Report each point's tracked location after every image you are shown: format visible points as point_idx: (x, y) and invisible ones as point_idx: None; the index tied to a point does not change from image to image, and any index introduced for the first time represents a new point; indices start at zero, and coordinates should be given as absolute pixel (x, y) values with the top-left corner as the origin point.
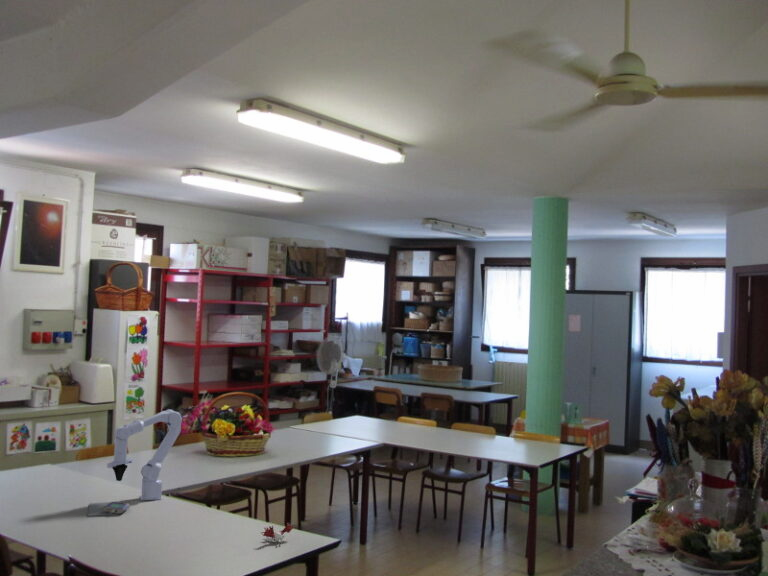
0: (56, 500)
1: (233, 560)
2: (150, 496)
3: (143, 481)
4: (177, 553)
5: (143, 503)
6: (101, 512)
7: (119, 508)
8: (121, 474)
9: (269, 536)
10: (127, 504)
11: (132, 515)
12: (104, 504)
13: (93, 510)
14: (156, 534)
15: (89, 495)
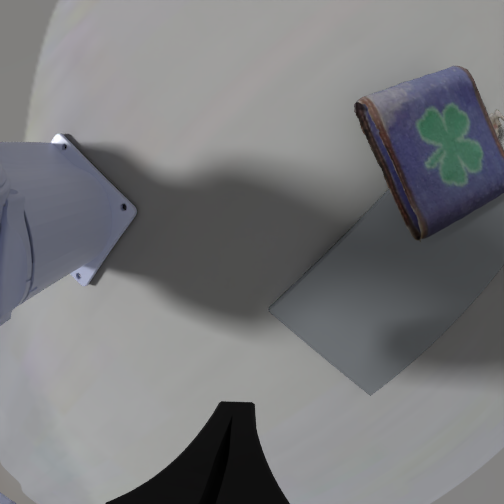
0: (358, 488)
1: None
2: (83, 176)
3: (33, 259)
4: None
5: (172, 147)
6: (485, 207)
7: (476, 88)
8: (232, 453)
9: None
10: (390, 96)
11: (413, 27)
12: (358, 323)
13: (472, 276)
14: None
15: None
